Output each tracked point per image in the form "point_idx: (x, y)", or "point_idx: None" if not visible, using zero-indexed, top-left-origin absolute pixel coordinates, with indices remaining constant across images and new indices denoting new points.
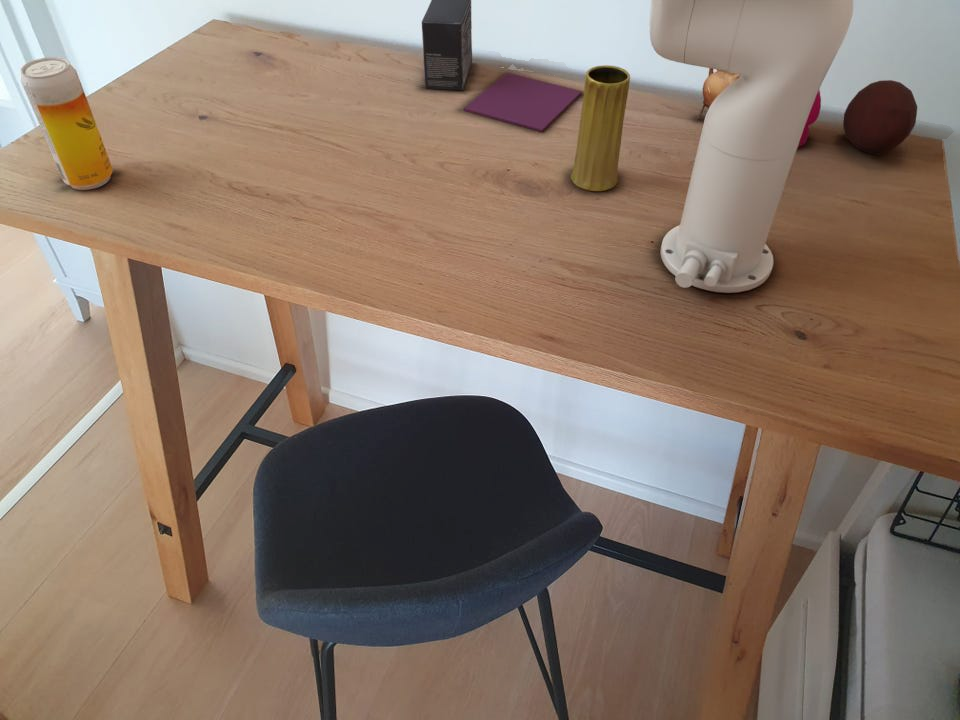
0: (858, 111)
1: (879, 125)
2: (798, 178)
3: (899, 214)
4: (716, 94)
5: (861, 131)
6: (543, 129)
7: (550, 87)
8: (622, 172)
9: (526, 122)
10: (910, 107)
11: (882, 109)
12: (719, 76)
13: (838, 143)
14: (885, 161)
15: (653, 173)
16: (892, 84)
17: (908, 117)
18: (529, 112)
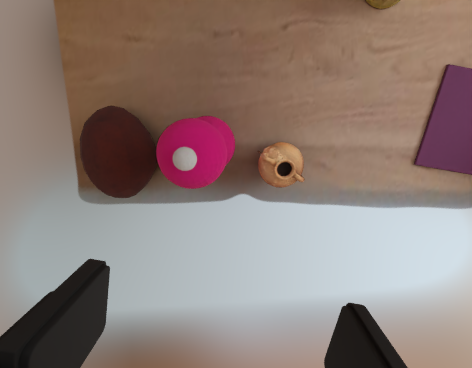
0: (139, 133)
1: (116, 111)
2: (189, 65)
3: (96, 29)
4: (288, 143)
5: (135, 117)
6: (447, 67)
7: (449, 161)
8: (356, 10)
9: (467, 73)
10: (83, 132)
11: (112, 122)
12: (292, 158)
13: None
14: None
15: (326, 20)
16: (102, 158)
17: (86, 122)
18: (466, 97)
